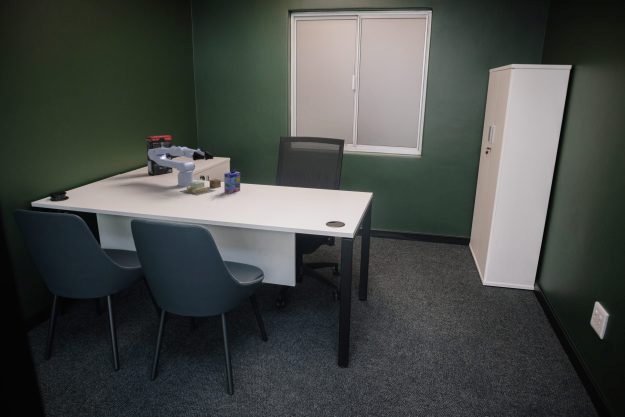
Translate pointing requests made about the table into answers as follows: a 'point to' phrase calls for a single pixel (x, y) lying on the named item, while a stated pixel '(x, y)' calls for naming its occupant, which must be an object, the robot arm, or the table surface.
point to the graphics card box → (158, 143)
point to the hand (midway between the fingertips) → (208, 157)
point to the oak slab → (197, 189)
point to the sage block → (196, 184)
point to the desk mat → (197, 193)
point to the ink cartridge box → (232, 182)
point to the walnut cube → (215, 183)
